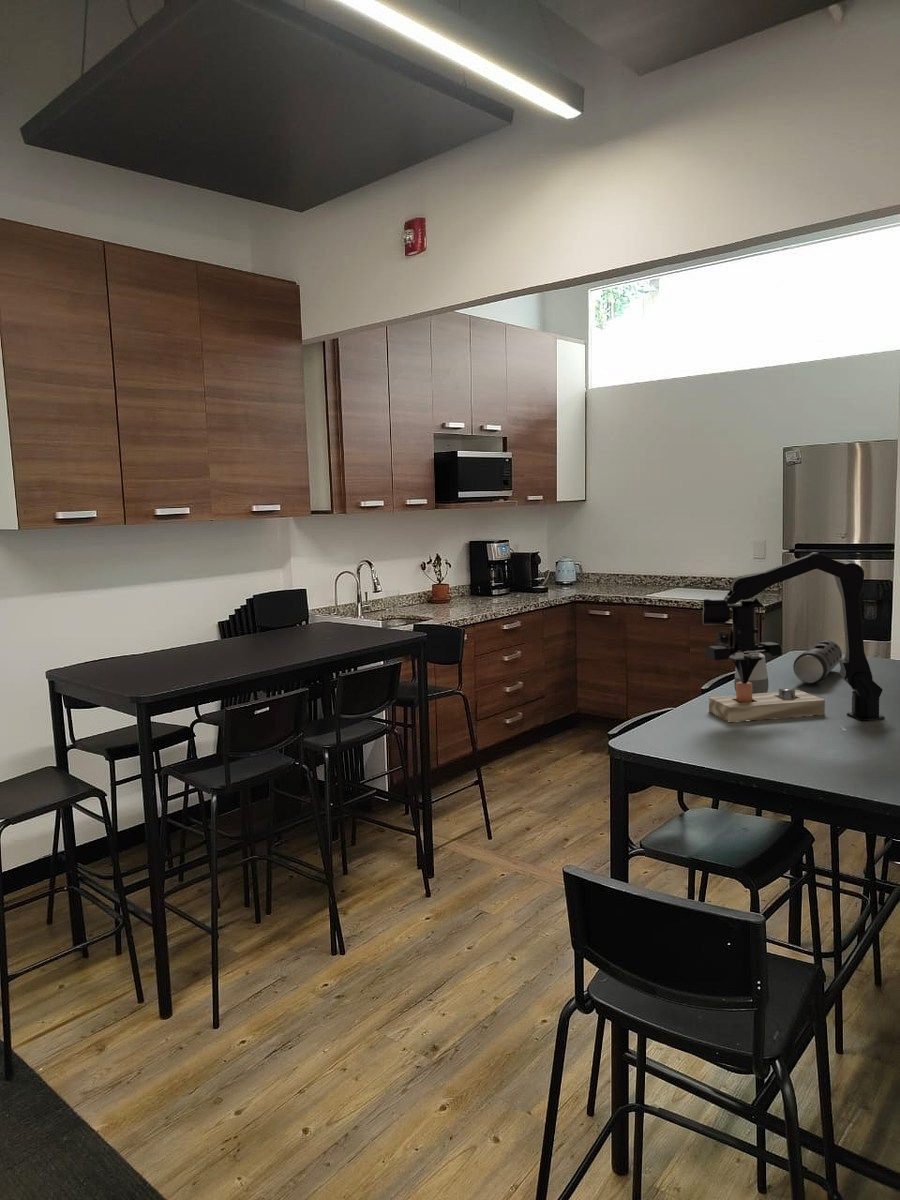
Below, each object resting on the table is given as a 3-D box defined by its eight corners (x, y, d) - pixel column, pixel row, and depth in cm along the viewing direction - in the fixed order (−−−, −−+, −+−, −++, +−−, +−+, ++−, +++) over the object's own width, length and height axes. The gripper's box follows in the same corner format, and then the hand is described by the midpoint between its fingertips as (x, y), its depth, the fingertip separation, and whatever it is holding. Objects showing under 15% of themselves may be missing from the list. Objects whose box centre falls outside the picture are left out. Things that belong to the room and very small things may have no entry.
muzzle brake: (843, 671, 262) (843, 640, 261) (825, 689, 239) (825, 654, 238) (811, 669, 267) (811, 638, 266) (791, 686, 245) (791, 653, 244)
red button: (755, 704, 212) (755, 684, 212) (740, 706, 212) (740, 685, 211) (747, 701, 216) (747, 681, 216) (733, 702, 216) (733, 682, 215)
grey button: (798, 710, 214) (798, 690, 214) (784, 712, 214) (783, 691, 213) (789, 707, 218) (789, 687, 217) (776, 708, 218) (775, 688, 217)
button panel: (824, 714, 211) (824, 699, 210) (730, 722, 208) (729, 707, 207) (799, 704, 223) (799, 690, 222) (709, 711, 219) (708, 697, 219)
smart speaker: (769, 700, 229) (769, 651, 227) (734, 699, 232) (734, 651, 230) (767, 693, 238) (767, 645, 236) (734, 692, 241) (734, 645, 239)
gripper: (761, 618, 221) (762, 674, 223) (696, 622, 219) (697, 679, 220) (783, 623, 210) (783, 682, 212) (715, 628, 208) (716, 688, 209)
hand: (744, 683), depth 213 cm, fingers closed, pressing on red button
